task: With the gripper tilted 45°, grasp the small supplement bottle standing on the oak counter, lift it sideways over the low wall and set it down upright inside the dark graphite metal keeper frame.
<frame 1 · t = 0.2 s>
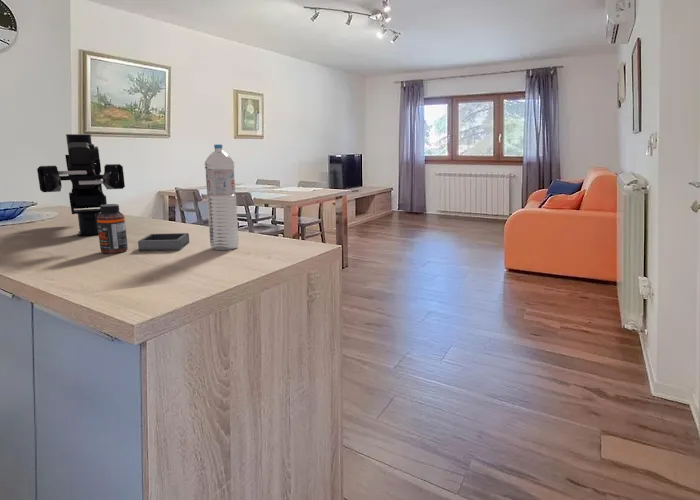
hand: (82, 181, 114), 17 cm above the countertop, tool horizontal, fingers open, 9 cm apart
water bottle: (224, 248, 119), on the countertop
keeper: (165, 246, 121), on the countertop
supplement bottle: (114, 252, 116), on the countertop
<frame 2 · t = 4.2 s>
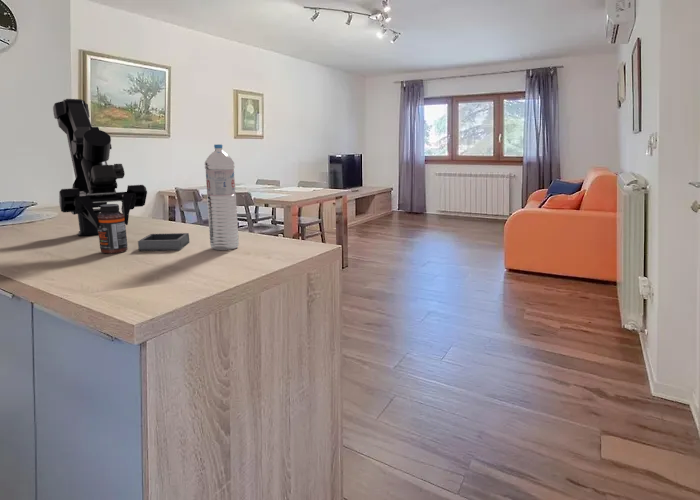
hand: (112, 225, 114), 7 cm above the countertop, tool tilted 45°, fingers closed on supplement bottle, 6 cm apart
supplement bottle: (114, 252, 116), on the countertop, touching gripper
everything else where it was.
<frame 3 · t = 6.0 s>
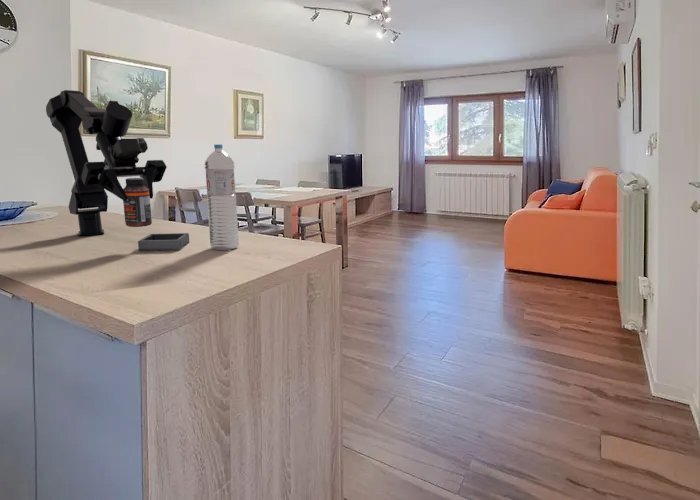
hand: (139, 198, 115), 13 cm above the countertop, tool tilted 45°, fingers closed on supplement bottle, 6 cm apart
supplement bottle: (139, 226, 117), point 6 cm above the countertop, touching gripper
everything else where it was.
when the fingers open (8 cm above the countertop, at t = 8.3 s): supplement bottle drops 1 cm, resting on keeper.
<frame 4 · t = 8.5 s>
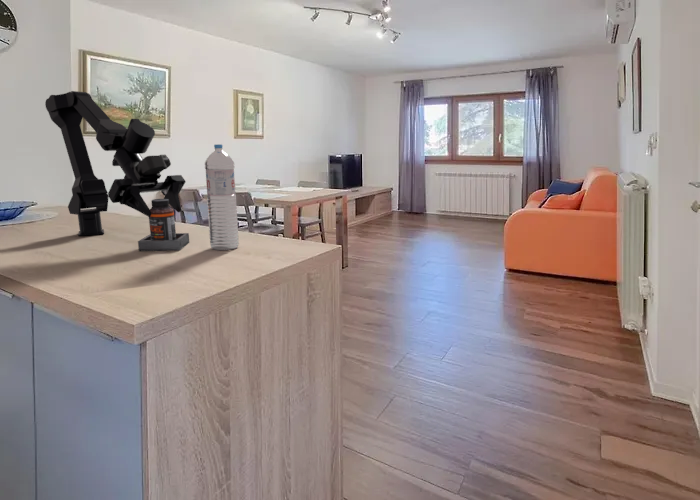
hand: (165, 213, 119), 9 cm above the countertop, tool tilted 45°, fingers open, 8 cm apart
supplement bottle: (164, 245, 121), resting on keeper
everything else where it was.
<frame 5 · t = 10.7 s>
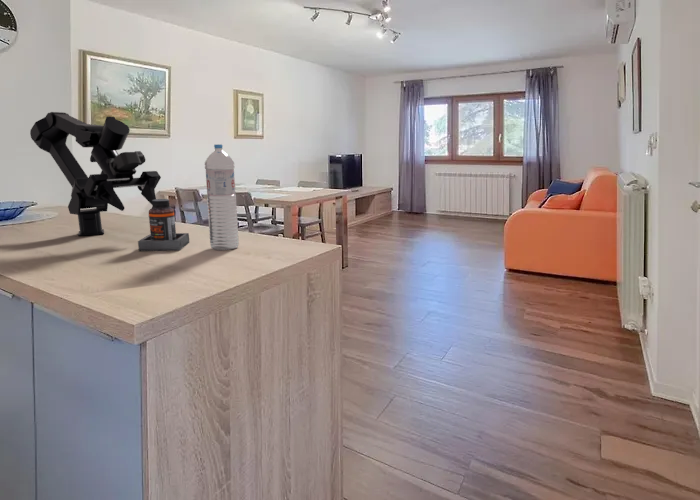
hand: (140, 207, 124), 9 cm above the countertop, tool tilted 45°, fingers open, 9 cm apart
nothing on the countertop moved.
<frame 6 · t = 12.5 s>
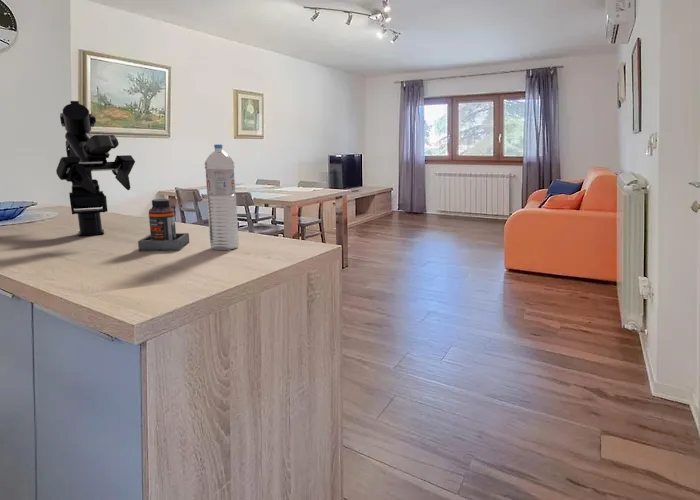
hand: (112, 190, 124), 14 cm above the countertop, tool tilted 45°, fingers open, 9 cm apart
nothing on the countertop moved.
at the end: supplement bottle 0.1 cm off-centre on the keeper, point 0.3 cm above the keeper's base; supplement bottle tilted 0°; the gripper is holding nothing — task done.
